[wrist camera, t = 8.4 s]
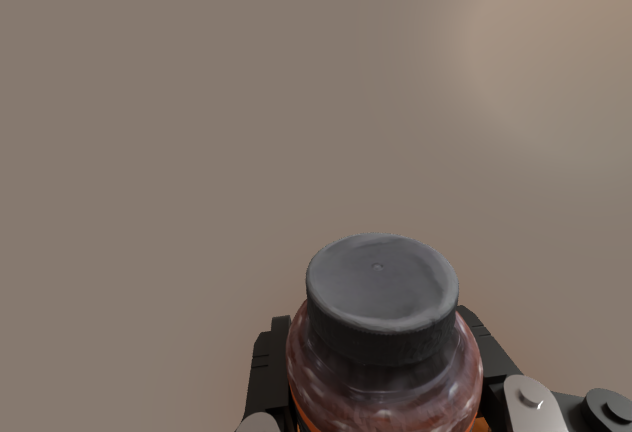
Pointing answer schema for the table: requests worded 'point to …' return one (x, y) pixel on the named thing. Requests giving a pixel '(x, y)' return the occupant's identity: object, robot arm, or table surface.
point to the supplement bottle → (382, 341)
